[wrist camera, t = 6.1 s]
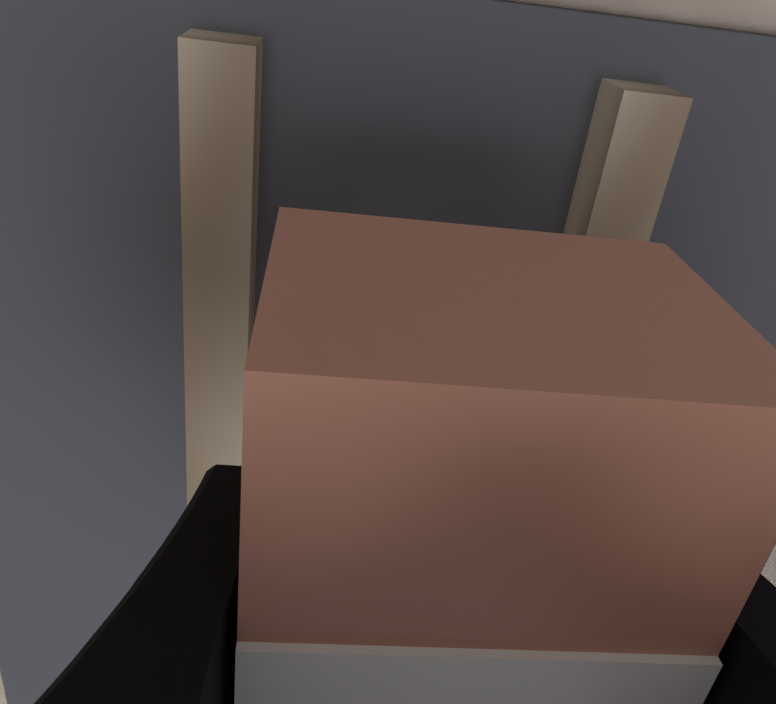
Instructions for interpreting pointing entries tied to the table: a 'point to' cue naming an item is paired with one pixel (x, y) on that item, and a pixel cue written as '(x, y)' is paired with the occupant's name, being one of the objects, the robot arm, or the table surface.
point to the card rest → (240, 207)
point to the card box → (495, 468)
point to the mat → (276, 189)
